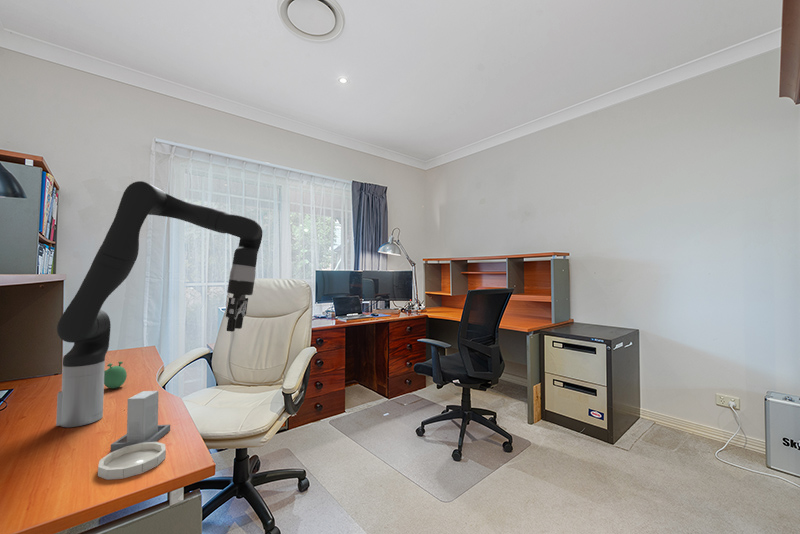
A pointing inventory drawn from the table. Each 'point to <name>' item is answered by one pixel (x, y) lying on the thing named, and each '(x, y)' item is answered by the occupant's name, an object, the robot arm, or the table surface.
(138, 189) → the robot arm
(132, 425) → the skincare box
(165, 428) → the tray
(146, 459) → the bowl
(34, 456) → the table surface
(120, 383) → the alien toy
